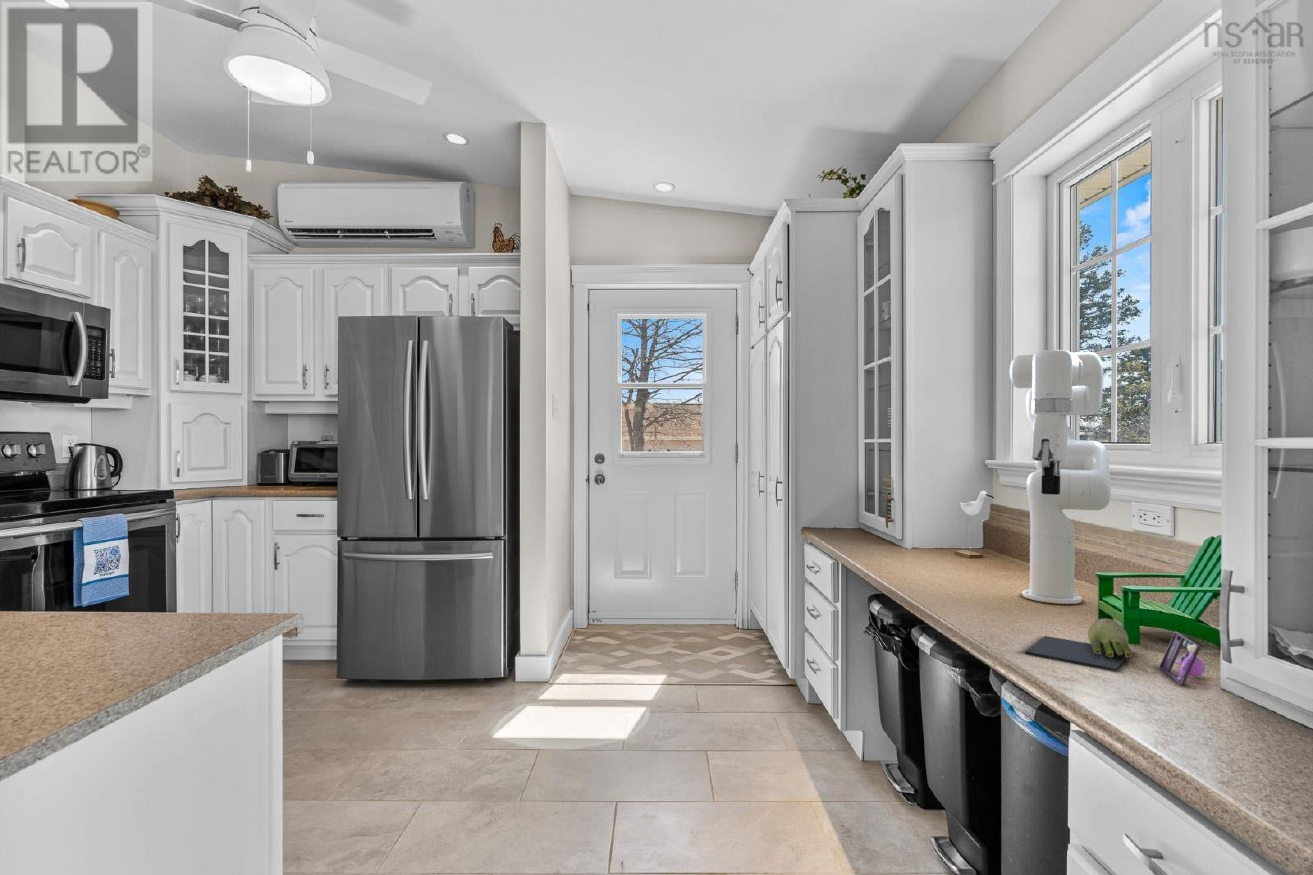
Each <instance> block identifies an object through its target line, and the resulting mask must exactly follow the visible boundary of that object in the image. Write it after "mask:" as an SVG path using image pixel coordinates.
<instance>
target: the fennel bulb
mask: <svg viewBox="0 0 1313 875" xmlns="http://www.w3.org/2000/svg"><path fill="white" fill-rule="evenodd" d="M1087 638H1088V640H1089V643H1090V644H1092V648H1093V652H1094V653H1096V654H1097V655H1100V654H1101V647H1102V648H1103V649H1104V652H1105V654H1106V656H1108V657H1109V658H1113V657H1114V652H1113V649H1114V650H1115V652H1116V653H1117V655H1122V654H1124V655H1125V657H1126V658H1127V659H1128V658H1129V659H1131V658H1132V657H1134V652H1133V651H1132V649H1131V648H1130V646H1129V640H1130V639H1129V635H1128V632H1127V631H1126V630H1125V628H1124V627H1123V626H1122V625H1120V623H1119V622H1117V621H1116V620H1114V619H1112V618H1104V617H1103V618H1099V619H1097V620H1095V621H1094V622H1093V623H1092V624H1091V625H1090V626H1089V628H1088V630H1087ZM1112 648H1113V649H1112Z"/></svg>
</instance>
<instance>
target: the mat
mask: <svg viewBox="0 0 1313 875" xmlns="http://www.w3.org/2000/svg"><path fill="white" fill-rule="evenodd" d="M1112 649H1113V648H1112ZM1113 652H1114V657H1113V658H1109V657H1108V656H1106V654H1105V652H1104V649H1103V648H1102V647H1101V654H1100V655H1097V654H1096V653H1094V652H1093V648H1092V644H1091V643H1089V642H1082V641H1077V640H1071V639H1066V638H1059V637H1054V636H1048V635H1044V636H1042V637H1041V638H1040V639H1039V640H1038V641H1036V642H1035V643H1034V644H1032V645H1031V646H1030V647H1029V648H1027V649H1026V650H1025V651H1024V654H1026V655H1032V656H1037V657H1043V658H1048V659H1052V660H1058V661H1063V662H1068V663H1073V664H1077V665H1085V666H1089V667H1094V668H1098V669H1103V670H1109V671H1113V672H1114V671H1115V672H1117V671H1118V670H1119V669H1120V667H1121V666H1122V665H1123V664H1124V662H1125V661H1126V660H1127V659H1128V658H1126V657H1125V655H1124V654H1122V655H1117V653H1116V652H1115V650H1114V649H1113Z"/></svg>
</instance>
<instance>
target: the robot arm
mask: <svg viewBox="0 0 1313 875" xmlns="http://www.w3.org/2000/svg"><path fill="white" fill-rule="evenodd" d="M1009 378H1010V382H1011V384H1012V385H1013V387H1015V388H1016V389H1029V390H1028V391H1027V393H1026V395H1025V409H1026V410H1025V411H1026V416H1027V419H1028V421H1029V424H1030V426H1031V429H1032V440H1031V459H1032V460H1033V461H1034V464H1035V468H1036V470H1035V471H1033V472H1031V473H1030V474H1029V475H1028V477H1027V480H1026V493H1027V498H1028V500H1027V501H1028V506H1029V507H1028V508H1029V524H1030V525H1029V526H1030V527H1029V529H1030V530H1029V588H1028V589H1024V590H1022V597H1024V598H1025V599H1029V600H1030V601H1031V600H1032V601H1035V602H1036V601H1037V602H1040V603H1048V604H1057V605H1076V604H1080V603H1082V601H1083V599H1082V598H1083V597H1082V596H1081V595H1079V594H1077V593H1075V574H1076V573H1075V572H1076V571H1075V567H1076V566H1075V565H1076V564H1075V562H1076V558H1075V557H1076V555H1075V554H1076V530H1075V526H1074V523H1073V521H1071V519H1069V517H1068V516H1067V515H1066V514H1065V513H1064V512H1063V510H1080V511H1101V510H1105V508H1107V507H1108V505H1109V504H1110V500H1111V495H1112V494H1111V493H1112V491H1111V490H1112V489H1111V487H1112V486H1111V474H1110V473H1111V472H1110V459H1109V452H1108V450H1107V447H1106V446H1105V445H1104V443H1102V442H1100V441H1097V440H1089V439H1088V440H1087V439H1085V440H1084V439H1082V440H1081V439H1074V433H1073V431H1072V428H1070V426H1069V425H1068V419H1067V416H1091V415H1095V414H1098V412H1099V411H1100V410H1101V408H1102V405H1103V395H1104V394H1103V393H1104V392H1103V391H1104V365H1103V361H1102V359H1101V357H1100V356H1099V355H1098V354H1096V353H1095V352H1091V351H1086V352H1085V351H1084V352H1083V351H1082V352H1081V351H1080V352H1070V351H1069V350H1064V349H1047V350H1040V351H1037V352H1036V353H1034V354H1020V355H1015V356H1014V357H1013V359H1012V360H1011V363H1010V367H1009Z"/></svg>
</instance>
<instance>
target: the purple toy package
mask: <svg viewBox="0 0 1313 875" xmlns="http://www.w3.org/2000/svg"><path fill="white" fill-rule="evenodd" d="M1182 647H1183V648H1184V649H1185V650H1187V651H1188V652H1187V653H1184V654H1182V655H1181V656H1180V657H1179V659H1178V660H1177V658H1178V655H1179V653H1180V651H1181V649H1182ZM1200 650H1201V645H1199V644H1197V643H1196V642H1194V641H1193V640H1191V639H1190V638H1188V637H1187V636H1185V635H1183V634H1181V633H1180V632H1179V631H1177V630H1176V631H1174V632H1173V635H1172V637H1171V639H1170V641H1169V643H1168V646H1167V648H1166V650H1165V653H1164V655H1163V657H1162V659H1161V660H1162V661H1161V662H1160V664H1159V668H1160V669H1161V670H1162V671H1163V672H1164V673H1166V674H1167V675H1168V676H1169V677H1170V678H1172V679H1173V680H1174V681H1175V682H1177V683H1178V684H1179V685H1181V686H1184V685H1185V684H1186V681H1187V679H1188V677H1189V676H1190V677H1196V678H1197V677H1198V678H1199V679H1201V678H1203V675H1204V673H1205V671H1206V665H1205V662H1204V661H1203V660H1202V659H1201V657H1199V655H1198V654H1199V652H1200ZM1176 660H1177V662H1178V665H1179V667H1180V670H1179V673H1178V677H1177V676H1175V674H1173V673H1172V670H1173V667H1174V665H1175V663H1176ZM1183 673H1184V674H1183Z"/></svg>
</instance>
